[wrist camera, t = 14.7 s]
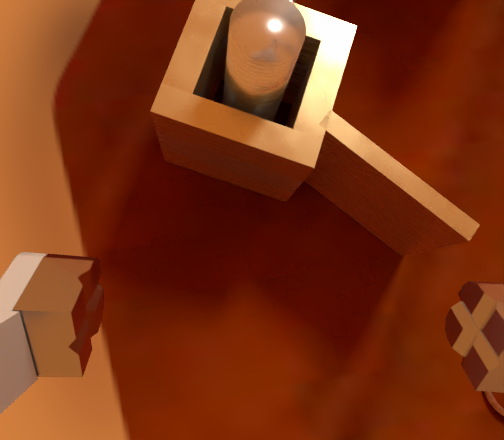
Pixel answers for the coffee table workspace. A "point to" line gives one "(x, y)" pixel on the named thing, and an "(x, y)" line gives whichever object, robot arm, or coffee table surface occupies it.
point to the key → (494, 402)
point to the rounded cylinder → (261, 55)
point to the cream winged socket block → (295, 135)
